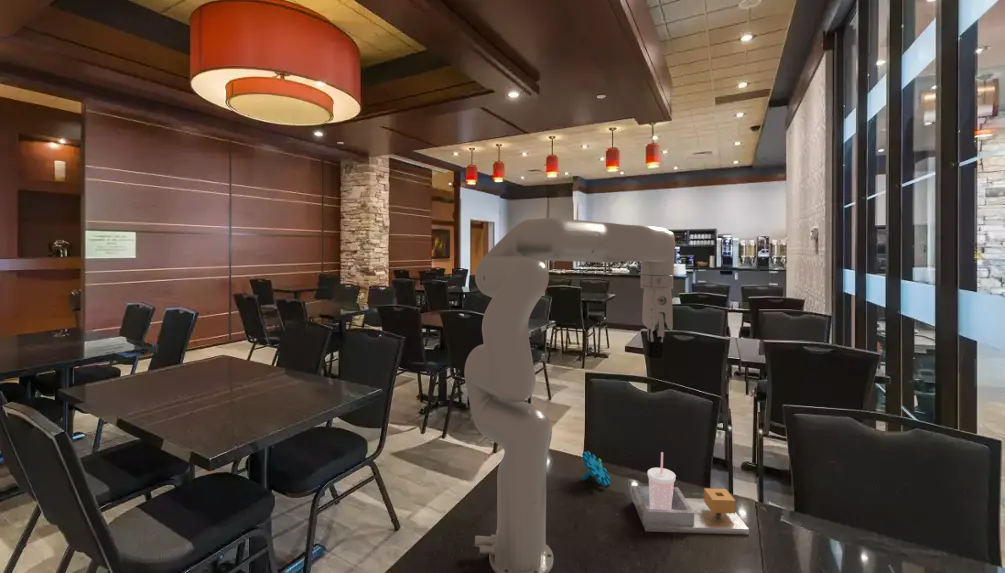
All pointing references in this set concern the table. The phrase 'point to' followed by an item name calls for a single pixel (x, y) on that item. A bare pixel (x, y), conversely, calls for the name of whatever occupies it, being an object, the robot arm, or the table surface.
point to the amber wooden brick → (719, 500)
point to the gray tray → (684, 515)
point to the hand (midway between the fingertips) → (654, 357)
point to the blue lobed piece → (595, 469)
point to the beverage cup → (661, 487)
